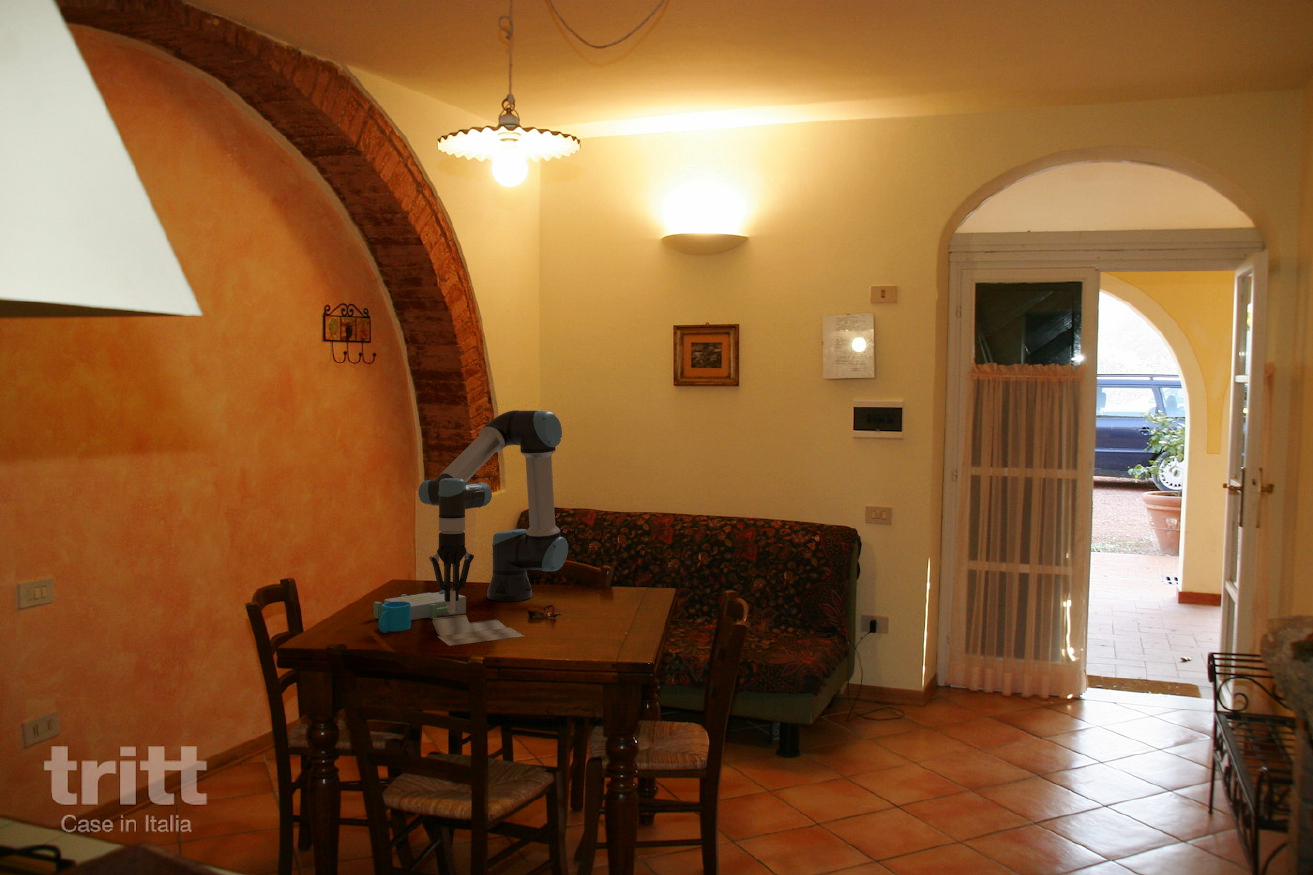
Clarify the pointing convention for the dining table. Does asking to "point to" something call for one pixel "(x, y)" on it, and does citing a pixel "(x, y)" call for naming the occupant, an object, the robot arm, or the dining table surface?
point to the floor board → (479, 636)
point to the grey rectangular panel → (486, 625)
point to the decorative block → (425, 605)
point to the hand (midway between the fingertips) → (451, 612)
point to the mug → (395, 616)
